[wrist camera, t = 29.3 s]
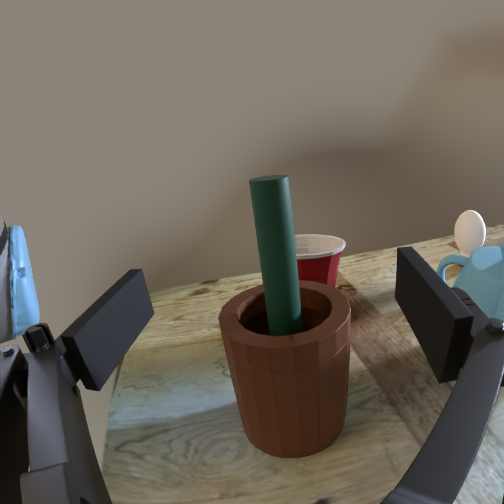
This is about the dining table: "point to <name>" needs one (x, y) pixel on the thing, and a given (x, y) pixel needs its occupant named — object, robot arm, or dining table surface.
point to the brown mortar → (290, 370)
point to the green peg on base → (277, 253)
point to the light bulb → (469, 232)
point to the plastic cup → (318, 258)
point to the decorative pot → (481, 277)
